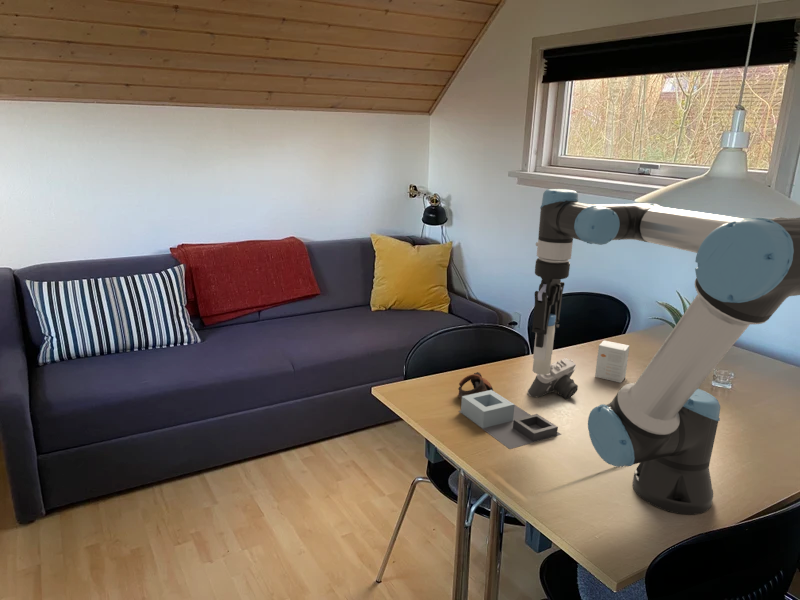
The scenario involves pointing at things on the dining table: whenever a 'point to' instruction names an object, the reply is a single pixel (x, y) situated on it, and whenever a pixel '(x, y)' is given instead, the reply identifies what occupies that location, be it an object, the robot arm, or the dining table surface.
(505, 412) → the block
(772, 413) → the dining table surface
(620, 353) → the small box
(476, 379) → the brown arched frame
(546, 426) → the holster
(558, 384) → the camera
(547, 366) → the plug
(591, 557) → the dining table surface
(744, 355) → the dining table surface
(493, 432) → the mat
